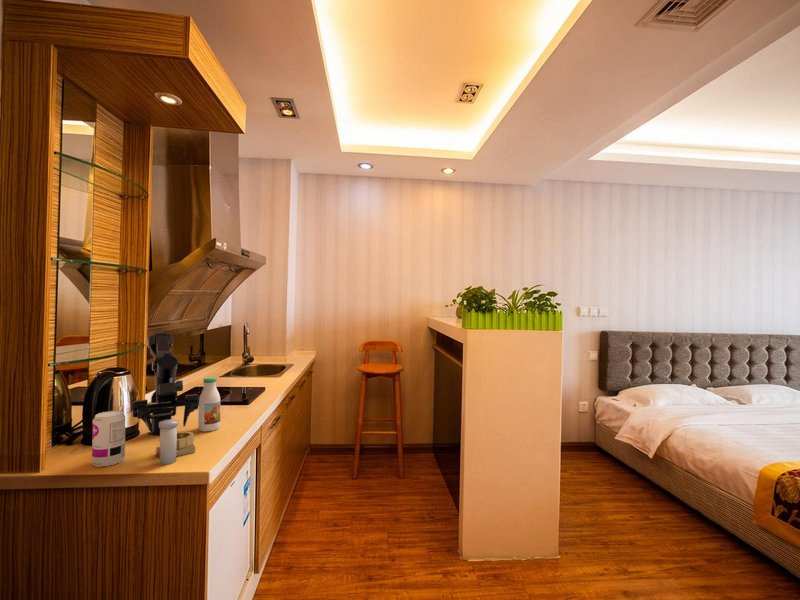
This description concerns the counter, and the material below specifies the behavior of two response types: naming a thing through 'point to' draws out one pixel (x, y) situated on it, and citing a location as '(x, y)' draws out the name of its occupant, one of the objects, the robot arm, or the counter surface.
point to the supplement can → (108, 438)
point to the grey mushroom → (168, 441)
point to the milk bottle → (209, 406)
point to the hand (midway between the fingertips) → (167, 428)
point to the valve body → (182, 444)
